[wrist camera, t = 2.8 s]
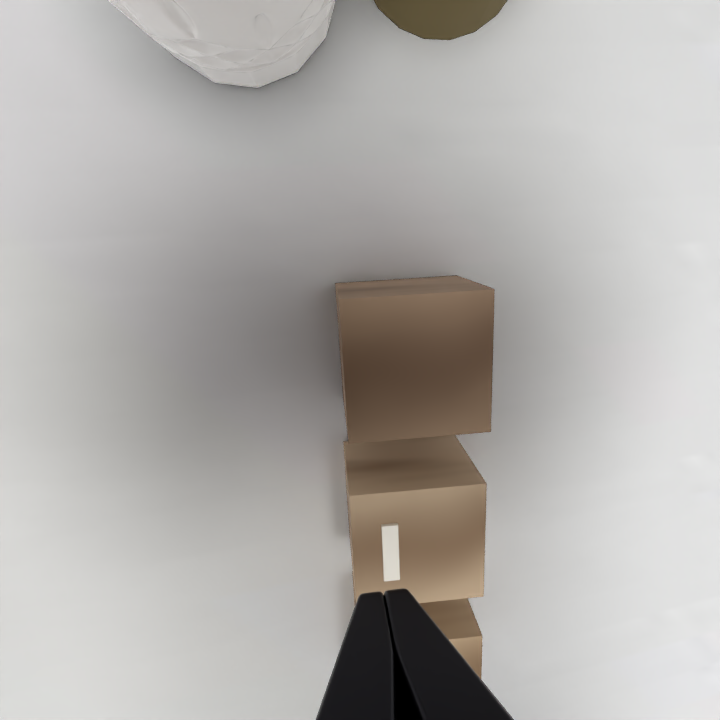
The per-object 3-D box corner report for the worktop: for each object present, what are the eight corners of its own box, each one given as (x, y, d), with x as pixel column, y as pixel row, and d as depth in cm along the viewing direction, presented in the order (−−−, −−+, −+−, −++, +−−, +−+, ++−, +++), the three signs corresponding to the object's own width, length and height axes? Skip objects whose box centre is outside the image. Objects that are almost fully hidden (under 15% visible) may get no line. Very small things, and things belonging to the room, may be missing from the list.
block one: (454, 639, 24) (484, 730, 20) (357, 649, 24) (365, 744, 20) (455, 559, 23) (487, 638, 19) (352, 569, 23) (359, 652, 18)
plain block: (455, 388, 21) (490, 431, 16) (343, 397, 20) (348, 443, 16) (455, 275, 19) (494, 289, 15) (335, 282, 19) (339, 299, 15)
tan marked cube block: (455, 525, 23) (488, 598, 18) (349, 535, 22) (357, 612, 18) (455, 431, 21) (491, 485, 17) (343, 440, 21) (349, 497, 16)
